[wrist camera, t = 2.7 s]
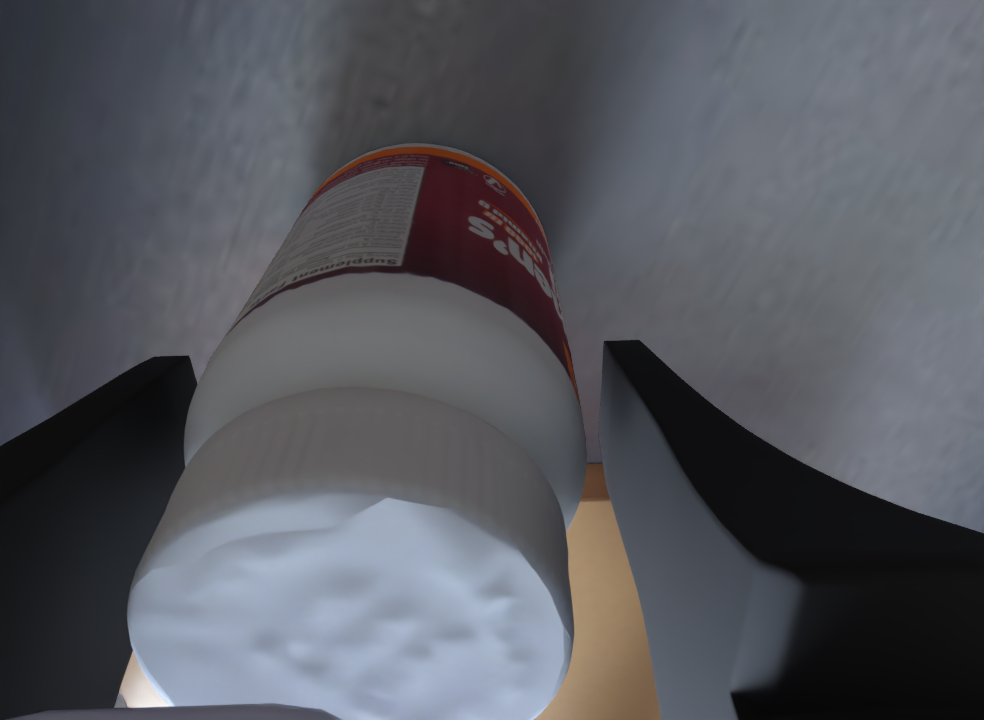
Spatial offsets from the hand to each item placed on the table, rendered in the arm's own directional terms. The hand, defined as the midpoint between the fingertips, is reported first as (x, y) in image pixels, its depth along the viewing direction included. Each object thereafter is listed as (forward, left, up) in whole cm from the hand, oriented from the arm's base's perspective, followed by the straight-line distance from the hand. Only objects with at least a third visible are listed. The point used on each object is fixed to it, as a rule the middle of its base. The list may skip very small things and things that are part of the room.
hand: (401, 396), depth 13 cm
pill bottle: (0, 0, -6) cm, 6 cm away
